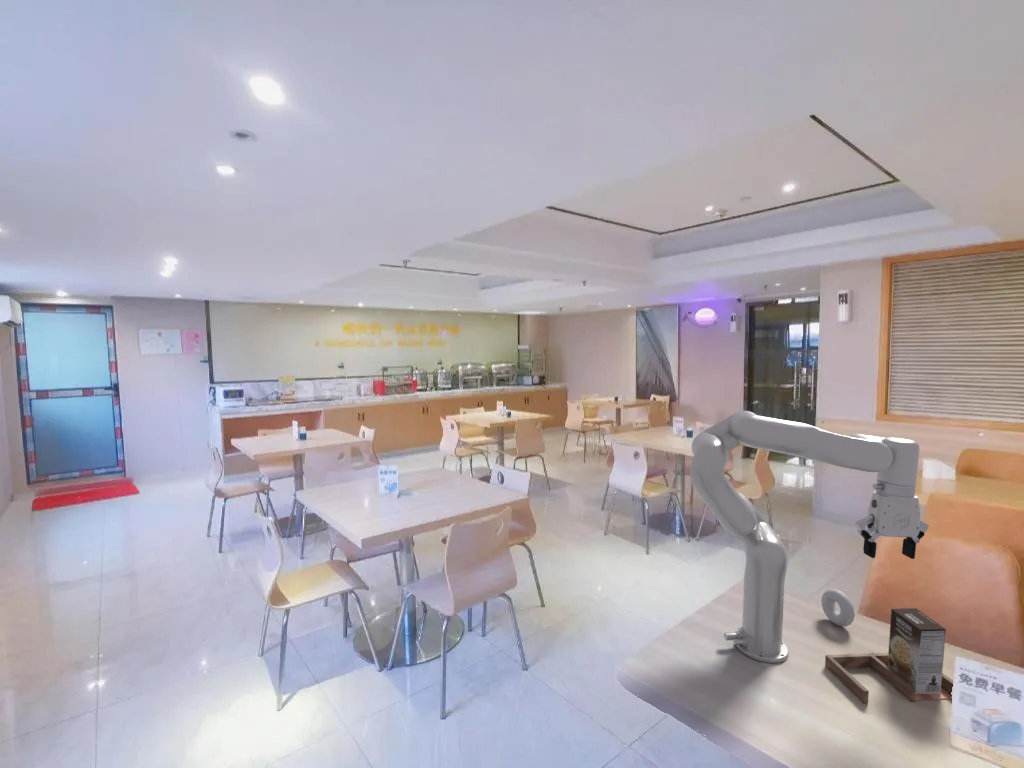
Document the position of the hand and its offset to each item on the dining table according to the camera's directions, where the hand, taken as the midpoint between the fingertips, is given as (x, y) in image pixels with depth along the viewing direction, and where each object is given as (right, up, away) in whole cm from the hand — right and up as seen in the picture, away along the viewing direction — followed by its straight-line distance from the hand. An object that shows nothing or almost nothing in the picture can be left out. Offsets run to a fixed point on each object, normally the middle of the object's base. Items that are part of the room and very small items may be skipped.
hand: (888, 556), depth 123 cm
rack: (-3, -29, -4) cm, 30 cm away
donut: (+1, -27, +21) cm, 34 cm away
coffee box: (+3, -29, -4) cm, 29 cm away
